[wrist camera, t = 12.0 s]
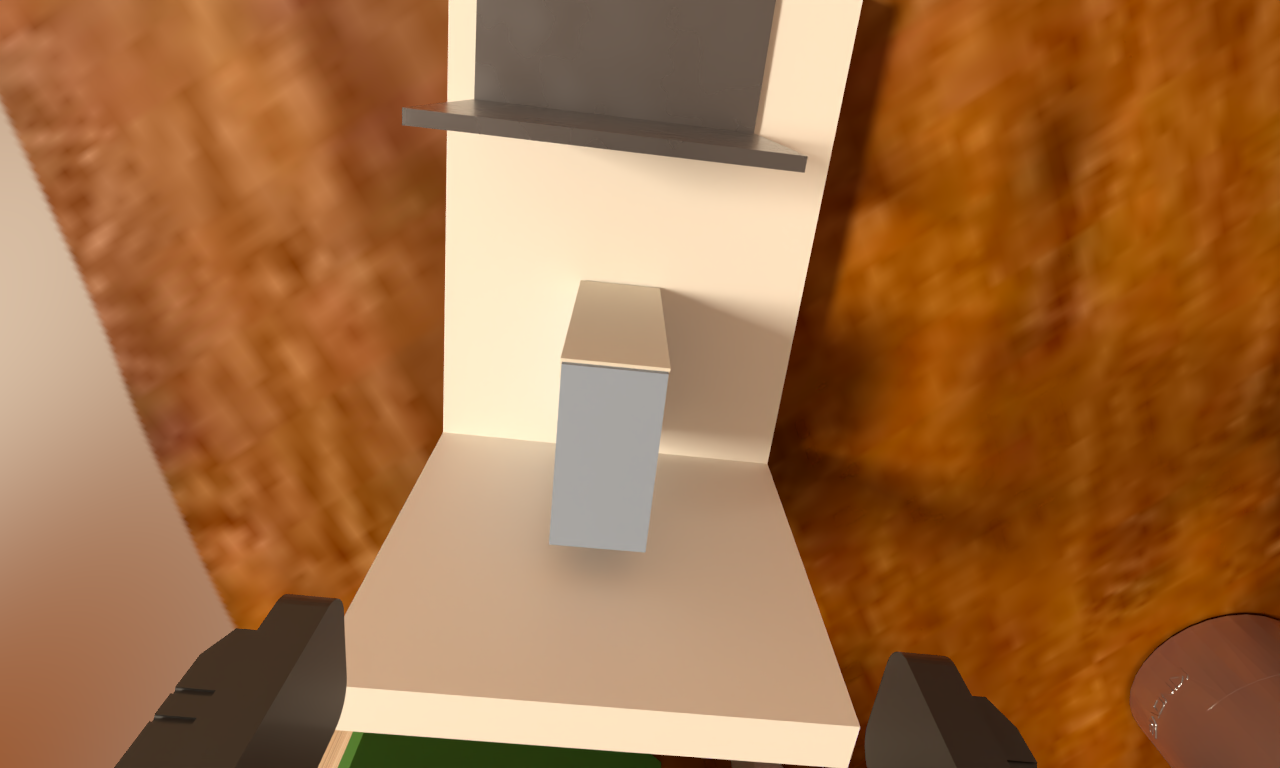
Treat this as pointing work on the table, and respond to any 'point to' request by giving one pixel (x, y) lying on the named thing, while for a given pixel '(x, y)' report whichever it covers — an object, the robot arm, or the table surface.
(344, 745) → the hardback book
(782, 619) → the shelf
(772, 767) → the lighter
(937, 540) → the table surface
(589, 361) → the small book
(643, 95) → the bookend
